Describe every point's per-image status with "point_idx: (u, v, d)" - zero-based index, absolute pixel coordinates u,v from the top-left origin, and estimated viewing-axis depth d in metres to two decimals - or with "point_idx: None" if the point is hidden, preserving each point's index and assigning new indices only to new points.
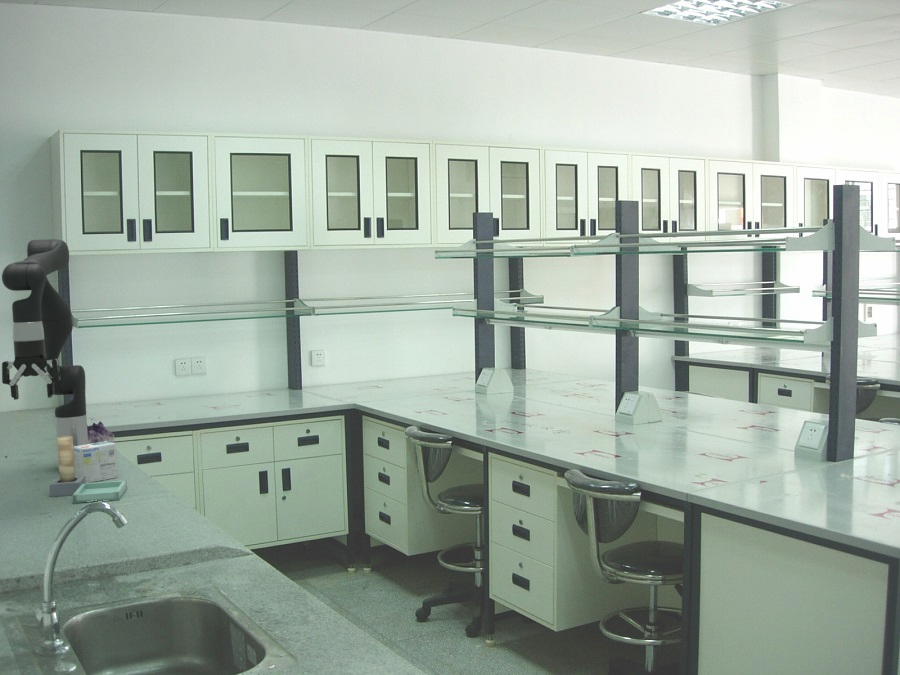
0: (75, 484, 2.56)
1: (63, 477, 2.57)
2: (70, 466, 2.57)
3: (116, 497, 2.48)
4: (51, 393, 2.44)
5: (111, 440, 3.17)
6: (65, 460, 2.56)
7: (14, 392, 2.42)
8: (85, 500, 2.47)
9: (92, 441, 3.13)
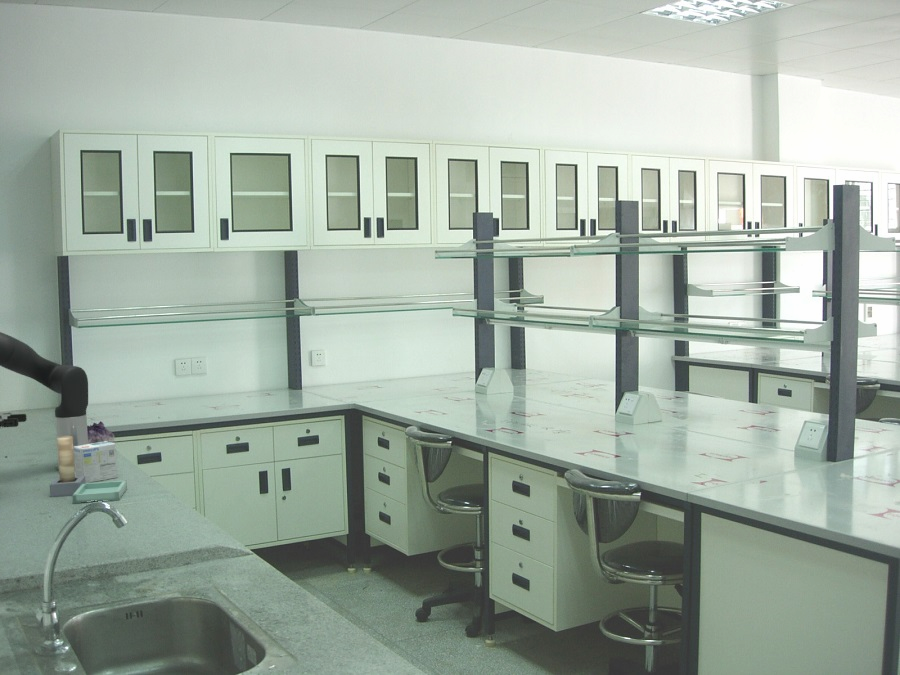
0: (75, 484, 2.56)
1: (63, 477, 2.57)
2: (70, 466, 2.57)
3: (116, 497, 2.48)
4: (13, 425, 2.50)
5: (111, 440, 3.17)
6: (65, 460, 2.56)
7: (18, 421, 2.59)
8: (85, 500, 2.47)
9: (92, 441, 3.13)
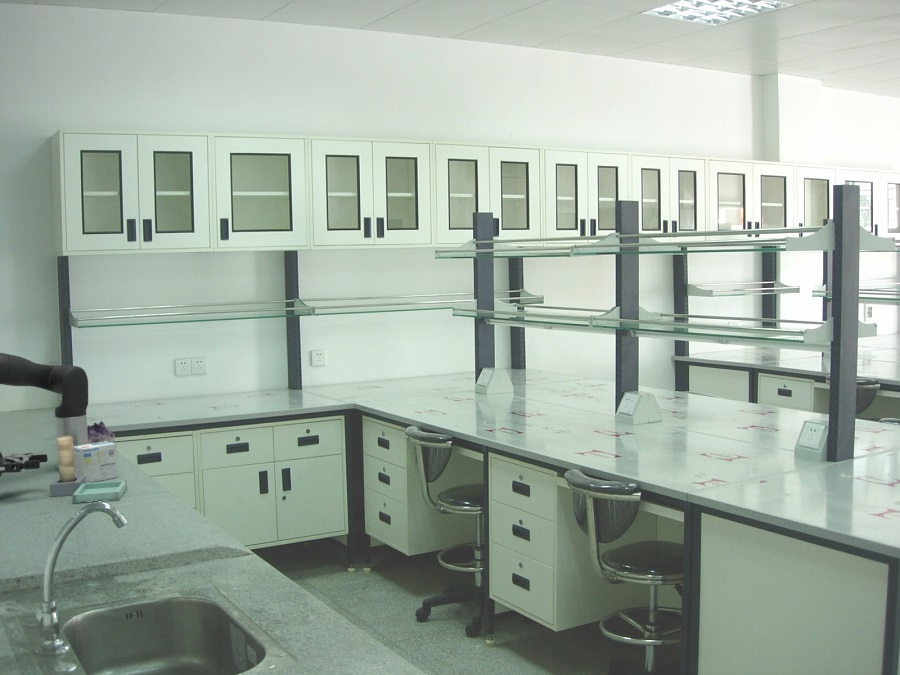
0: (75, 484, 2.56)
1: (63, 477, 2.57)
2: (70, 466, 2.57)
3: (116, 497, 2.48)
4: None
5: (112, 440, 3.17)
6: (65, 460, 2.56)
7: None
8: (85, 500, 2.47)
9: (93, 441, 3.13)
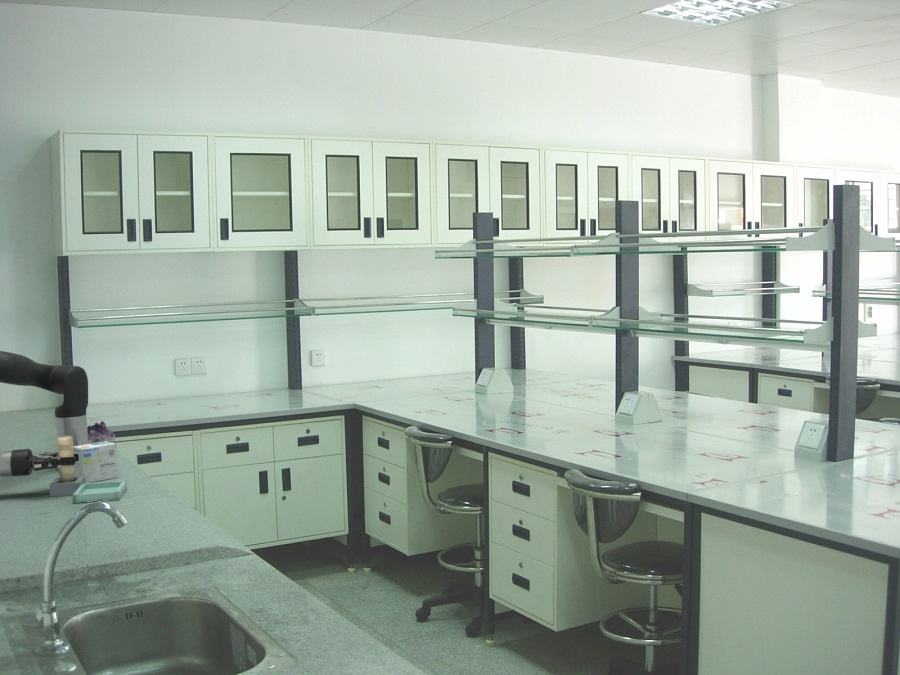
0: (75, 484, 2.56)
1: (63, 477, 2.57)
2: (70, 466, 2.57)
3: (116, 497, 2.48)
4: None
5: (112, 440, 3.17)
6: None
7: None
8: (85, 500, 2.47)
9: (93, 441, 3.13)
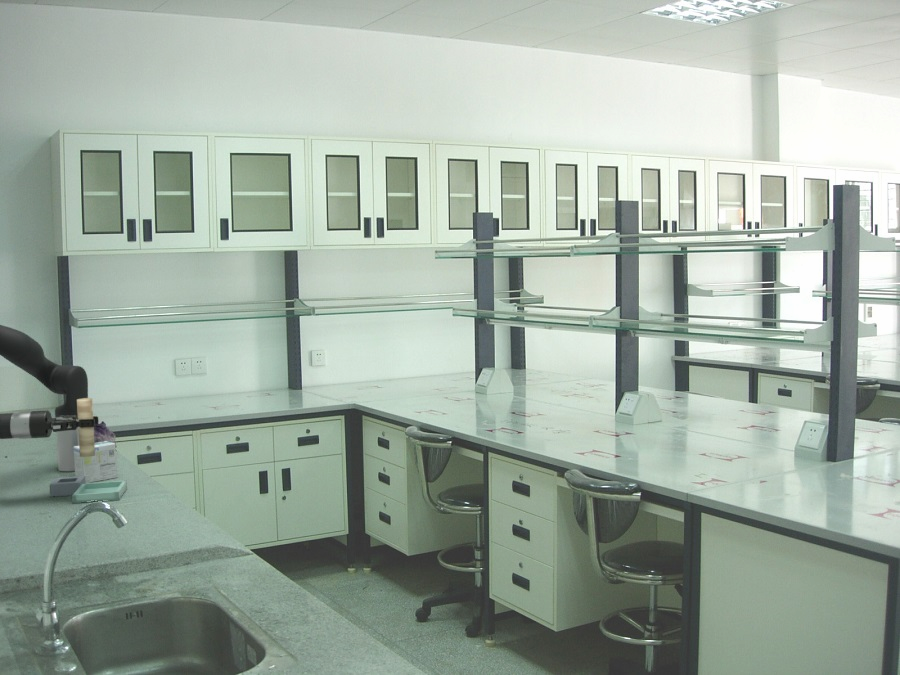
0: (75, 484, 2.56)
1: (82, 439, 2.52)
2: (89, 428, 2.52)
3: (116, 497, 2.48)
4: (90, 425, 2.51)
5: (112, 440, 3.17)
6: None
7: None
8: (85, 500, 2.47)
9: None
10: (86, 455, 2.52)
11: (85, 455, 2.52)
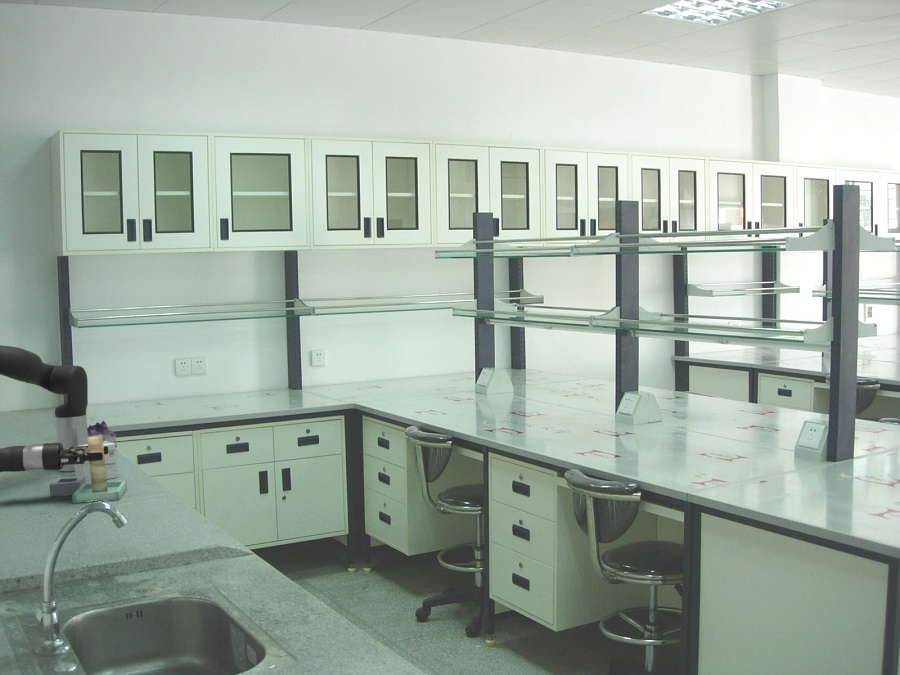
0: (75, 484, 2.56)
1: (94, 477, 2.52)
2: (101, 466, 2.52)
3: (116, 497, 2.48)
4: None
5: (112, 440, 3.17)
6: None
7: None
8: (85, 500, 2.47)
9: None
10: (99, 492, 2.52)
11: (98, 492, 2.52)
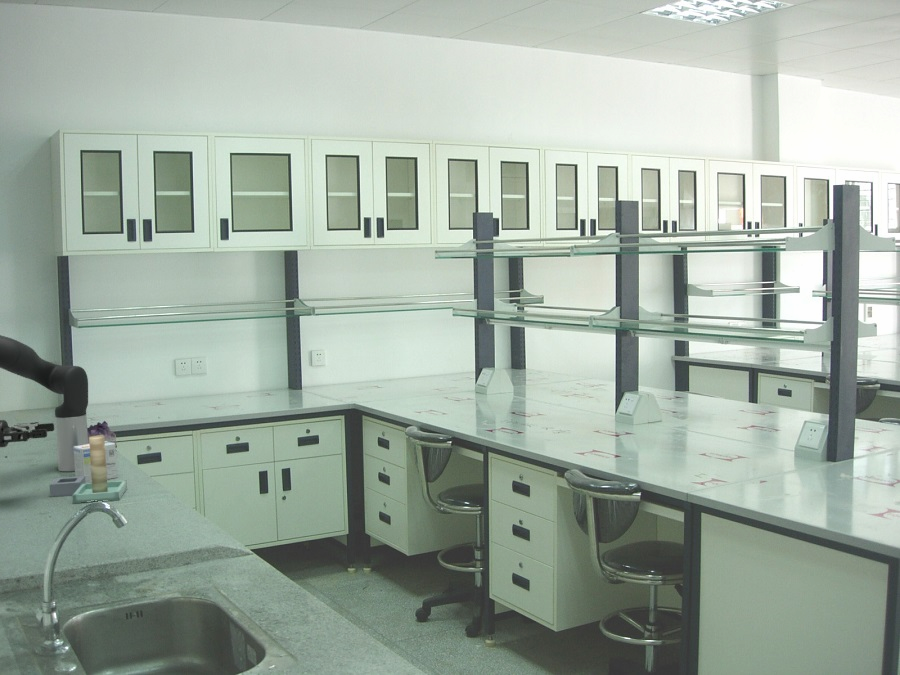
0: (75, 484, 2.56)
1: (95, 477, 2.52)
2: (102, 466, 2.52)
3: (116, 497, 2.48)
4: None
5: (113, 440, 3.17)
6: (97, 460, 2.51)
7: (46, 431, 2.55)
8: (85, 500, 2.47)
9: None
10: None
11: None
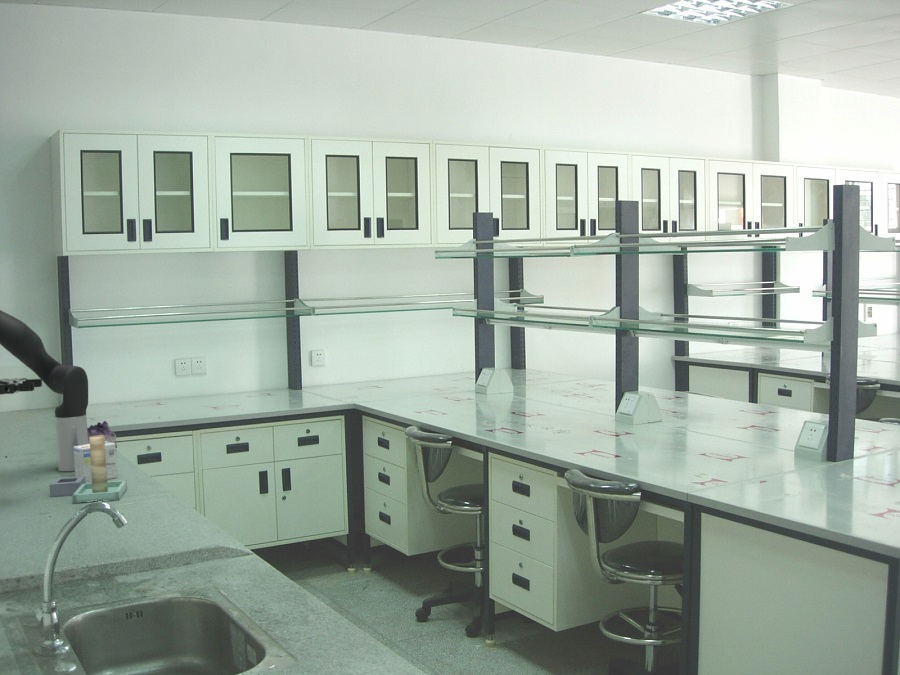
0: (75, 484, 2.56)
1: (95, 477, 2.52)
2: (102, 466, 2.52)
3: (116, 497, 2.48)
4: (29, 389, 2.46)
5: (113, 440, 3.18)
6: (97, 460, 2.51)
7: None
8: (85, 500, 2.47)
9: None
10: None
11: None
